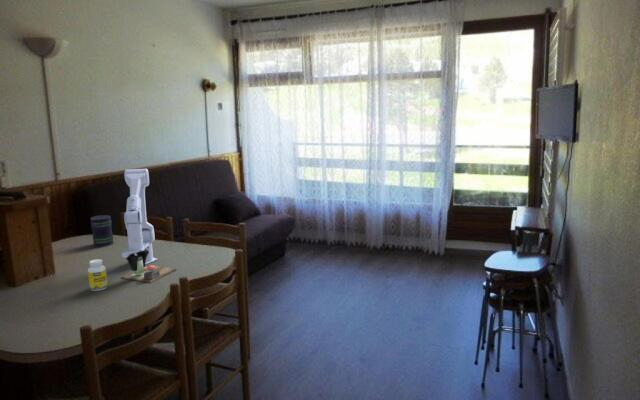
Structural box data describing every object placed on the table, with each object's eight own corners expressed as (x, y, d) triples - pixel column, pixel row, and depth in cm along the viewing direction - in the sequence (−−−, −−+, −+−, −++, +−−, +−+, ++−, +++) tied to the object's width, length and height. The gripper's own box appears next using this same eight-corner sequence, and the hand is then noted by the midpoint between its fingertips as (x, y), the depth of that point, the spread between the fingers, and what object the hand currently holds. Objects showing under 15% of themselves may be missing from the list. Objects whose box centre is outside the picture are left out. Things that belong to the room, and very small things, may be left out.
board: (121, 278, 200) (120, 271, 200) (148, 266, 215) (147, 259, 214) (151, 282, 194) (150, 275, 194) (176, 270, 209) (175, 263, 208)
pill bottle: (90, 292, 185) (86, 264, 183) (89, 287, 191) (86, 260, 189) (108, 289, 188) (105, 262, 186) (107, 284, 194) (104, 257, 192)
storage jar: (108, 246, 246) (105, 219, 243) (90, 247, 246) (86, 219, 243) (116, 241, 256) (113, 214, 253) (99, 241, 256) (95, 215, 253)
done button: (145, 270, 198) (145, 267, 197) (150, 268, 200) (150, 264, 200) (151, 271, 196) (151, 268, 196) (156, 269, 199) (156, 265, 199)
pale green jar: (139, 274, 199) (137, 258, 197) (131, 273, 200) (130, 257, 199) (145, 271, 202) (144, 256, 201) (138, 270, 204) (137, 255, 203)
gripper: (129, 243, 190) (133, 275, 193) (154, 234, 203) (157, 264, 206) (116, 242, 193) (120, 273, 196) (142, 233, 206) (144, 262, 209)
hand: (138, 268), depth 201 cm, fingers closed on pale green jar, 4 cm apart
